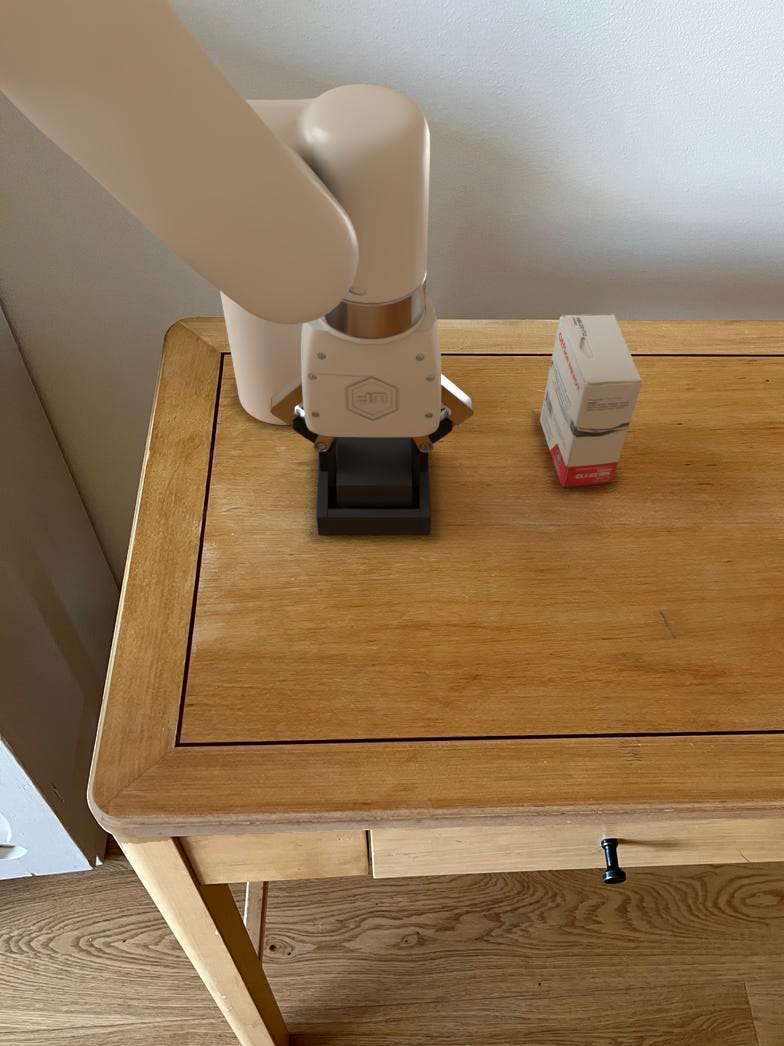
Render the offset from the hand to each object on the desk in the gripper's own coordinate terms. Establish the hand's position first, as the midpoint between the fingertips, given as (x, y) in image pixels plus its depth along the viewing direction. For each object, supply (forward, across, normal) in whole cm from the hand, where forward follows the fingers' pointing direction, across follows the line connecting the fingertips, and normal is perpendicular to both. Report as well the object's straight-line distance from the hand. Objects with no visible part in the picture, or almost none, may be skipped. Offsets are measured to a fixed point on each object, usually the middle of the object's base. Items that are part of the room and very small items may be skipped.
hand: (374, 472), depth 80 cm
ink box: (+3, +18, +5) cm, 19 cm away
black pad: (+1, 0, 0) cm, 1 cm away
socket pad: (+2, 0, 0) cm, 2 cm away
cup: (+3, -8, +12) cm, 15 cm away
